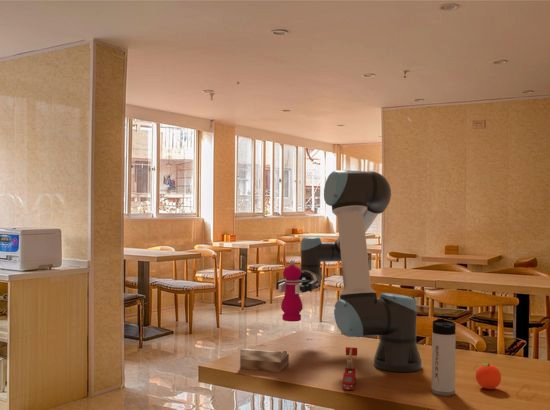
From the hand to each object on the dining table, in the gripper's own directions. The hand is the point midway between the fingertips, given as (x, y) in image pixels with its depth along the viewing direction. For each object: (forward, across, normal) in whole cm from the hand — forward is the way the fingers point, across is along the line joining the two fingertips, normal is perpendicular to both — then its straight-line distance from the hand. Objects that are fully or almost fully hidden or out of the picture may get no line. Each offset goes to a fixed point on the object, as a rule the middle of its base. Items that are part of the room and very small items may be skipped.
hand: (287, 289), depth 193 cm
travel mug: (+16, -49, -24) cm, 57 cm away
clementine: (+8, -61, -24) cm, 66 cm away
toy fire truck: (+17, -23, -24) cm, 38 cm away
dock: (+6, +6, -24) cm, 26 cm away
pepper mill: (-5, 0, -11) cm, 12 cm away
